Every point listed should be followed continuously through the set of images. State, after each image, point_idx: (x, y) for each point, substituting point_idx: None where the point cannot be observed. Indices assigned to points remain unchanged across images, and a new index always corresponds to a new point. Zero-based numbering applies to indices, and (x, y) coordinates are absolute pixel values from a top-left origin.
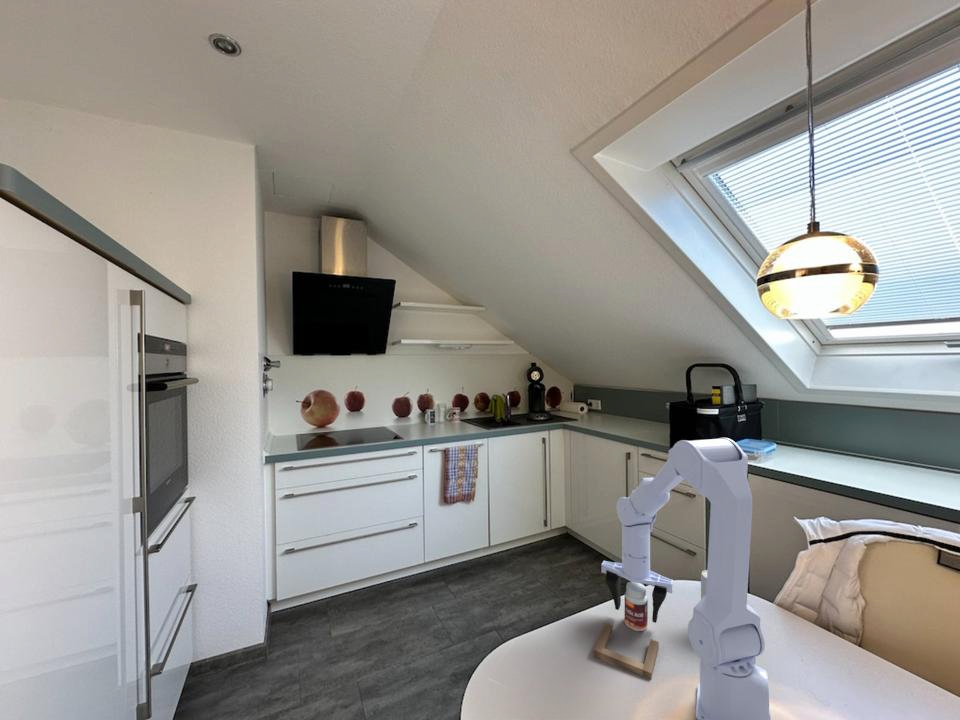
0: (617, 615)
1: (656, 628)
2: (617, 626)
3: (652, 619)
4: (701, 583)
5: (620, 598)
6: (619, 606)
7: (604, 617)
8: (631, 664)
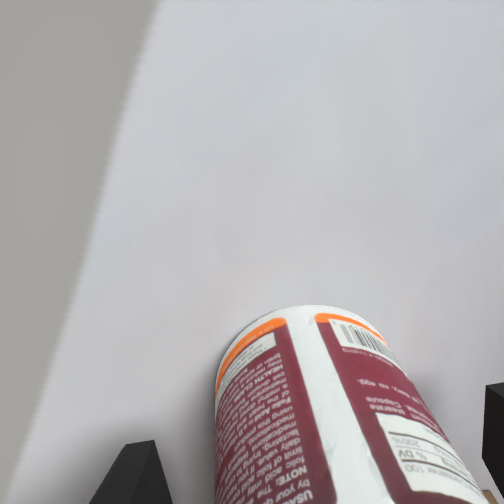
0: (144, 378)
1: (452, 321)
2: (202, 477)
3: (498, 488)
4: None
5: (138, 495)
6: (163, 487)
7: (80, 458)
8: None
